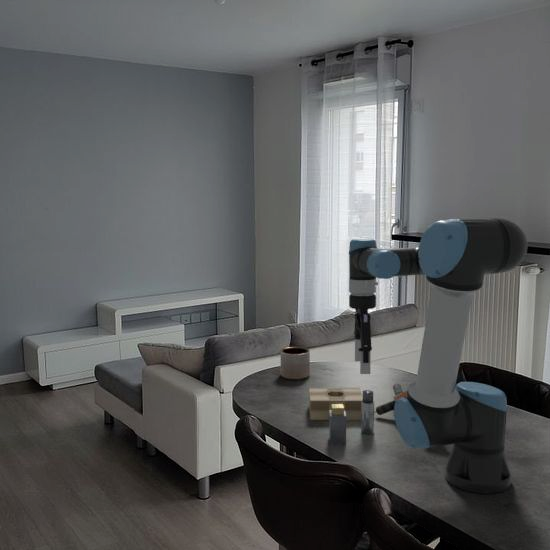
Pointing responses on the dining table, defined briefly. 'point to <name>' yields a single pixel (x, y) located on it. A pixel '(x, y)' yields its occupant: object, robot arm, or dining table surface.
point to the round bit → (367, 413)
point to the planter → (295, 363)
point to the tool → (390, 405)
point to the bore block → (334, 402)
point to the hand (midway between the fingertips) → (362, 367)
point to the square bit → (337, 424)
